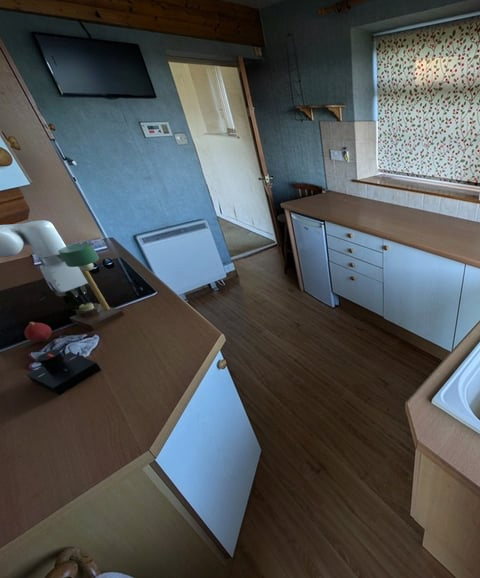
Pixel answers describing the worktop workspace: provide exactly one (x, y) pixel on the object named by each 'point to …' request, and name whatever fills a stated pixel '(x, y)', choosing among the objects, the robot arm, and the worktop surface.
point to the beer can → (71, 301)
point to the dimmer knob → (53, 360)
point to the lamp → (83, 264)
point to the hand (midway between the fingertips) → (85, 303)
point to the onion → (38, 332)
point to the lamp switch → (87, 307)
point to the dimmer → (65, 374)
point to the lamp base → (96, 316)
